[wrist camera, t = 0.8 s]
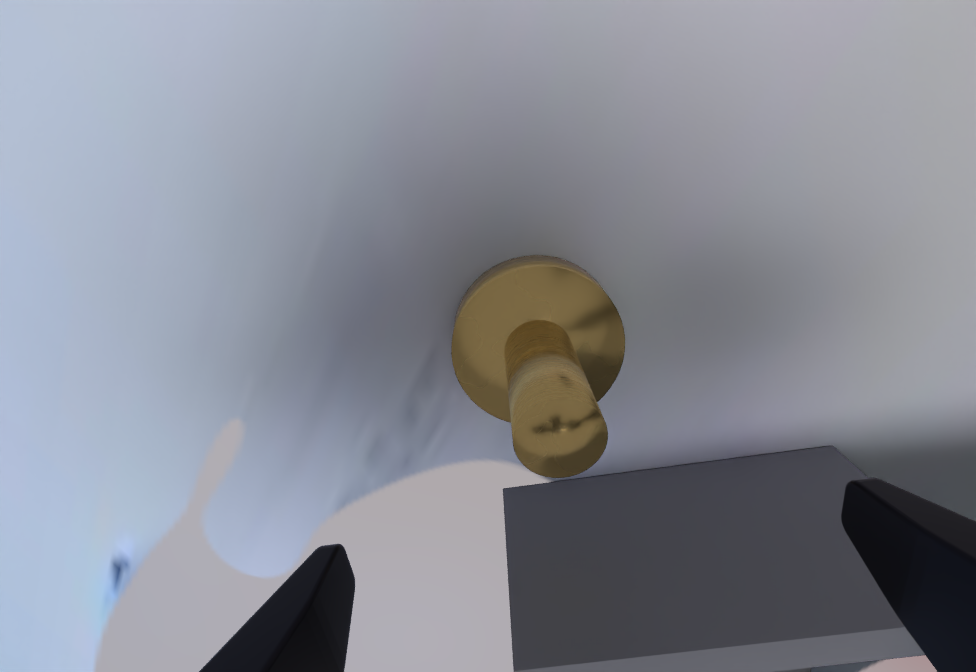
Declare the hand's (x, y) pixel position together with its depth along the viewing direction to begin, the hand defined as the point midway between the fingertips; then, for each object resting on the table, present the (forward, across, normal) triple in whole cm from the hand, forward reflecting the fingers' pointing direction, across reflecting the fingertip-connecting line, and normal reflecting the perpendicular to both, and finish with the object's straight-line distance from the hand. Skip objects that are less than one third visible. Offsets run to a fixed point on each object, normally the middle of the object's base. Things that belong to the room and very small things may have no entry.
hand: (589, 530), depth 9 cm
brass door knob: (+9, 0, 0) cm, 9 cm away
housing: (+9, -4, +15) cm, 18 cm away
